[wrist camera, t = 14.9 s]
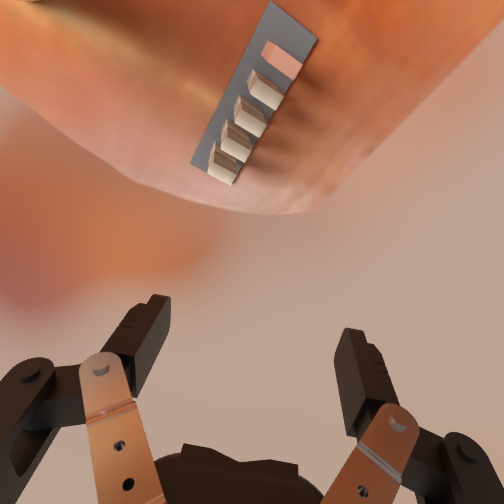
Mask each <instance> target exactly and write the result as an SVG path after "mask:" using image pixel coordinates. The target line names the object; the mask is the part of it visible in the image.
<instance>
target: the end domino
mask: <svg viewBox="0 0 504 504" xmlns="http://www.w3.org/2000/svg"><path fill="white" fill-rule="evenodd" d="M261 55H262V56H263V58H264V59H265V60H266V61H267V62H268V63H270V64H271V65H272V66H274V67H275V68H277V69H278V70H279V71H281V72H282V73H284V74H285V75H286V76H288V77H289V78H291V79H292V80H293V81H294V79H295V77H296V76H297V74H298V72H299V71H300V69H301V67H302V66H303V65H302V64H301V63H300V62H298V61H297V60H296V59H294V58H293V57H292V56H290V55H289V54H288V53H286V52H285V51H284V50H282V49H281V48H280V47H278V46H277V45H275V44H273V43H272V42H270V41H267V43H266V45H265V47H264V49H263V51H262V53H261Z"/></svg>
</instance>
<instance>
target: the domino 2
mask: <svg viewBox="0 0 504 504" xmlns="http://www.w3.org/2000/svg"><path fill="white" fill-rule="evenodd" d="M234 120H235V124H237V125H239V126H240V127H242V128H244V129H245V130H247V131H249V132H250V133H252V134H254V135H255V136H257V137H259V138H260V136H261V134H262V133H263V131H264V129H265V128H266V126H267V124H266V121H265V119H264V116H263V113H262V110H261V108H259V107H258V106H256V105H255V104H253V103H252V102H250V101H249V100H247V99H246V98H244V97H242V96H241V95H239V97H238V99H237V101H236V103H235V105H234Z"/></svg>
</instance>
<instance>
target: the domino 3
mask: <svg viewBox="0 0 504 504" xmlns="http://www.w3.org/2000/svg"><path fill="white" fill-rule="evenodd" d="M221 150H223V151H224V152H226V153H228V154H230V155H232V156H233V157H235V158H237V159H239V160H241V161H242V162H244V163H245V161H246V160H247V158H248V156H249V155H250V153H251V145H250V140H249V134H248V131H247V130H245V129H244V128H242V127H240V126H239V125H237V124H235V123H234V122H232V121H230V120H229V119H227V120H226V122H225V124H224V126H223V128H222V133H221Z"/></svg>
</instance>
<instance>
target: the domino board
mask: <svg viewBox="0 0 504 504" xmlns="http://www.w3.org/2000/svg"><path fill="white" fill-rule="evenodd" d="M316 40H317V37H315V36H314V35H313V34H312V33H310V32H309V31H308V30H307V29H306V28H304V27H303V26H302V25H301V24H299V23H298V22H297V21H296V20H294V19H293V18H292V17H291V16H289V15H288V14H287V13H286V12H284V11H283V10H282V9H281V8H279V7H278V6H277V5H276V4H274V3H273V2H272V1H271V0H270V1H269V3H268V5H267V7H266V9H265V11H264V13H263V15H262V17H261V19H260V21H259V23H258V25H257V27H256V29H255V31H254V34H253V36H252V38H251V40H250V42H249V44H248V46H247V48H246V50H245V52H244V54H243V56H242V58H241V60H240V62H239V64H238V66H237V68H236V70H235V72H234V74H233V76H232V78H231V80H230V82H229V84H228V86H227V88H226V91H225V93H224V95H223V97H222V99H221V101H220V103H219V105H218V107H217V109H216V111H215V113H214V115H213V117H212V119H211V121H210V123H209V125H208V127H207V129H206V131H205V133H204V135H203V137H202V139H201V141H200V143H199V146H198V148H197V150H196V152H195V154H194V156H193V158H192V160H191V162H190V164H191V165H193V166H195V167H197V168H199V169H201V170H203V171H205V172H207V173H208V165H209V157H210V150H211V149H212V147H213V145H214V143H215V141H217V142H219V143H220V144H221V133H222V128H223V126H224V124H225V122H226V120H227V119H229V120H230V121H232V122H234V123H235V120H234V105H235V103H236V101H237V99H238V97H239V95H241V96H242V97H244V98H246V99H247V100H249V101H250V102H252V103H253V104H255V105H256V106H258V107H259V108H261V110H262V113H263V116H264V119H265V121H266V124H267V122H268V121H269V119H270V117H271V116H272V114H273V112H274V111H275V110H274V109H272V108H271V107H269V106H268V105H266V104H265V103H263V102H262V101H260V100H259V99H257V98H255V97H254V96H252V95H251V94H250V92H249V88H248V85H247V80H248V78H249V76H250V74H251V72H252V70H253V69H254V70H256V71H257V72H259V73H260V74H261V75H263V76H264V77H266V78H267V79H269V80H270V81H272V82H273V83H274V84H275V85H276V86H277V88H278V89H279V90H280V92H281V93H282V95H283V96H284V94H285V92H286V90H287V89H288V87H289V85H290V84H291V82H292V79H291V78H289V77H288V76H286V75H285V74H284V73H282V72H281V71H279V70H278V69H277V68H275V67H274V66H272V65H271V64H270V63H268V62H267V61H266V60H265V59H264V58H263V56H262V55H261V53H262V51H263V49H264V47H265V45H266V43H267V41H270V42H272V43H273V44H275V45H277V46H278V47H280V48H281V49H282V50H284V51H285V52H286V53H288V54H289V55H290V56H292V57H293V58H294V59H296V60H297V61H298V62H300V63H301V64H303V62H304V60H305V59H306V57H307V55H308V53H309V52H310V50H311V48H312V47H313V45H314V43H315V42H316ZM248 134H249V140H250V145H251V149H252V148H253V146H254V144H255V143H256V141H257V139H258V138H259V137H257V136H255V135H254V134H252V133H250V132H249V131H248ZM243 163H244V162H242V161H241V160H239V159H237V158H236V166H237V173H238V171H239V170H240V168H241V166H242V165H243Z"/></svg>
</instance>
